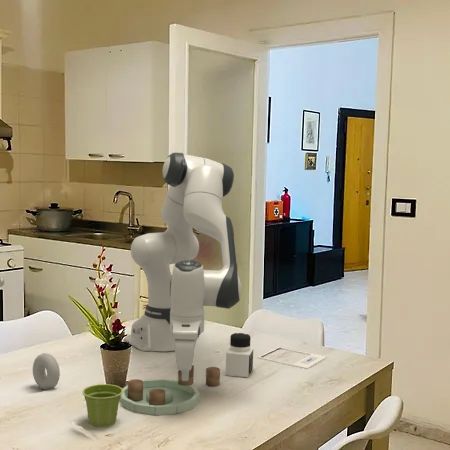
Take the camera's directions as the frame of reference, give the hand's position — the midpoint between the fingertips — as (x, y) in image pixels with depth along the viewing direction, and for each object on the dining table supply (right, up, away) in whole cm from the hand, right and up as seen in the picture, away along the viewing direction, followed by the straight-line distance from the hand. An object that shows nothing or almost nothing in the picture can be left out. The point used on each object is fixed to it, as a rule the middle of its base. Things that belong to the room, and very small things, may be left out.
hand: (185, 376), depth 168 cm
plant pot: (-19, -9, -14) cm, 25 cm away
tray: (-7, -7, +1) cm, 10 cm away
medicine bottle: (+14, -6, +28) cm, 32 cm away
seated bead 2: (-7, -7, -6) cm, 11 cm away
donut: (-39, -6, +9) cm, 40 cm away
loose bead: (0, -2, 0) cm, 2 cm away
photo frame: (+32, -5, +44) cm, 54 cm away
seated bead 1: (-13, -6, +1) cm, 15 cm away
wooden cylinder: (+7, -6, +17) cm, 19 cm away
